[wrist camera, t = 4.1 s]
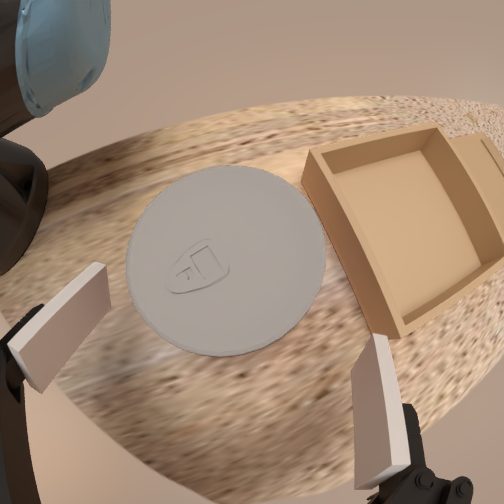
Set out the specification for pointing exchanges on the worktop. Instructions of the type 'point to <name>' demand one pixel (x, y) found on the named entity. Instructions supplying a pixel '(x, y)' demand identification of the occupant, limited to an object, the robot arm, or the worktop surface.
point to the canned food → (226, 261)
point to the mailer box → (410, 219)
